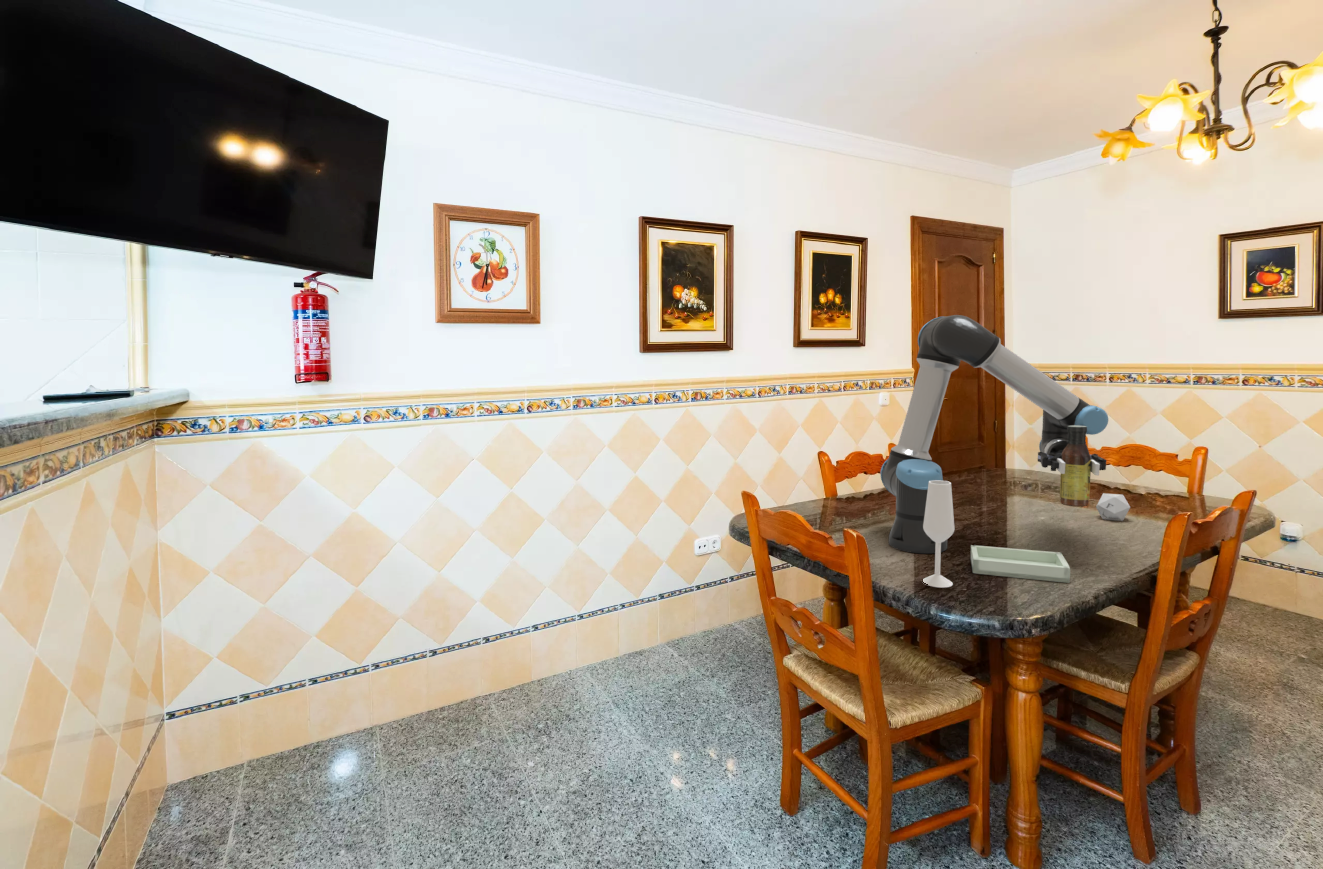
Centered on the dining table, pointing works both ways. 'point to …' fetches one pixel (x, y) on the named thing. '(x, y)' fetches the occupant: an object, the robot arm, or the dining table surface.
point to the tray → (1020, 563)
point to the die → (1113, 507)
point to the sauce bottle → (1076, 469)
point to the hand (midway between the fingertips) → (1080, 469)
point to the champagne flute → (938, 524)
